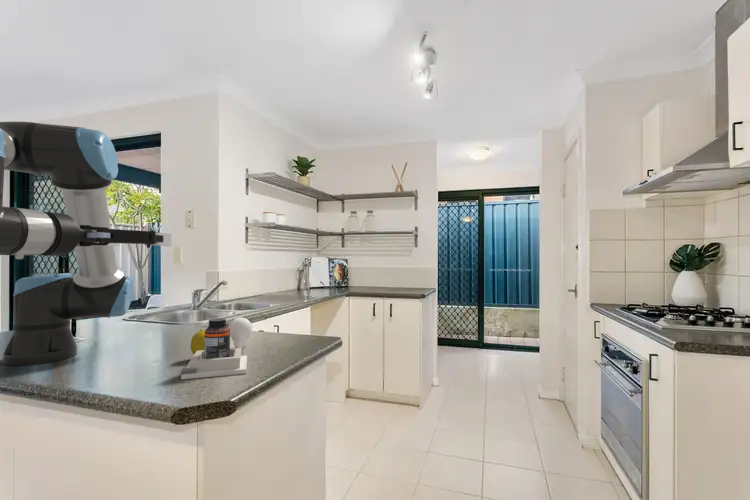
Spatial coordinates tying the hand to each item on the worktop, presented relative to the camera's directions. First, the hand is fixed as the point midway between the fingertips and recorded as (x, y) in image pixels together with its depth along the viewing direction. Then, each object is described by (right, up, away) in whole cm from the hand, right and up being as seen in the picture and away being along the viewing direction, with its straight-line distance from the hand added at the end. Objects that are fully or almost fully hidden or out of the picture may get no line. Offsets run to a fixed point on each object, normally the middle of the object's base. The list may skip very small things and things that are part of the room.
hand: (143, 240), depth 82 cm
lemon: (+4, -33, +18) cm, 38 cm away
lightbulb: (+14, -33, +21) cm, 41 cm away
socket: (+12, -32, +10) cm, 36 cm away
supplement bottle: (+12, -31, +10) cm, 35 cm away
